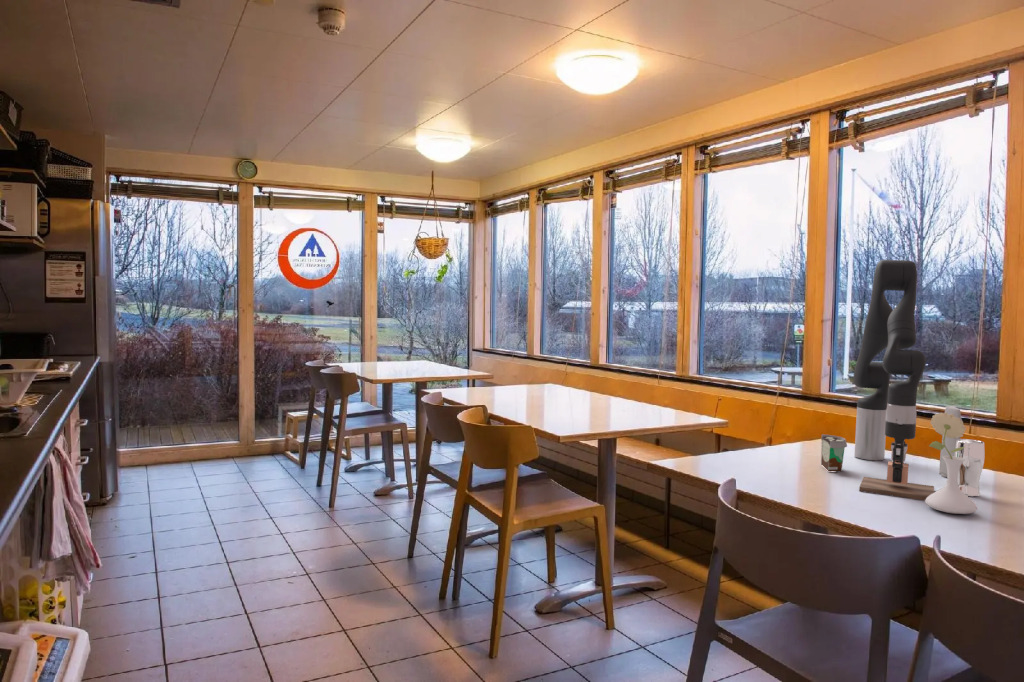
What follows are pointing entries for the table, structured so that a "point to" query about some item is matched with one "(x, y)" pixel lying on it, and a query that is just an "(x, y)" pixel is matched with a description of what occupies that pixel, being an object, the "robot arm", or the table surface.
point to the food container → (832, 452)
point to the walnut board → (896, 488)
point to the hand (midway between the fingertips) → (897, 479)
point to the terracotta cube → (904, 473)
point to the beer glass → (970, 465)
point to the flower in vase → (950, 469)
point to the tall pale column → (948, 441)
